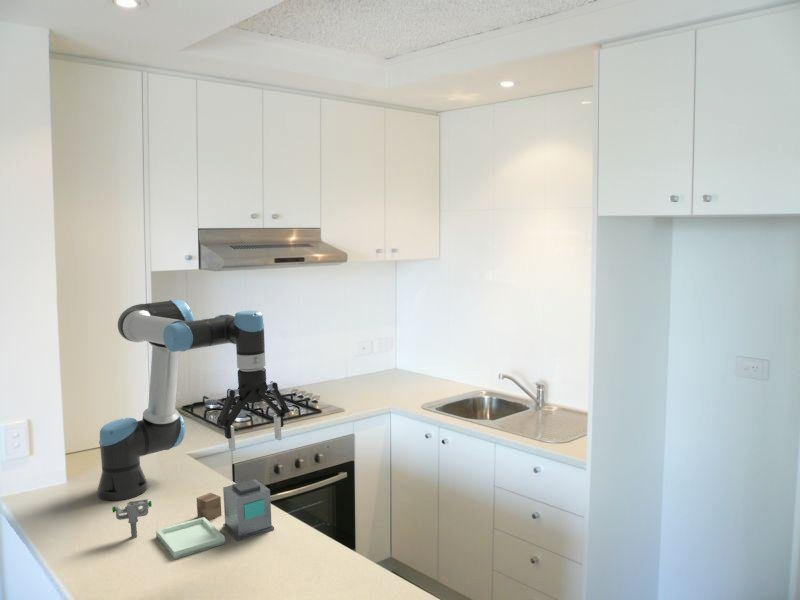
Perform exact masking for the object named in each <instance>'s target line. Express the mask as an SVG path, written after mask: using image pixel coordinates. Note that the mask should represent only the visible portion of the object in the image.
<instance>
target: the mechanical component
mask: <svg viewBox="0 0 800 600" xmlns="http://www.w3.org/2000/svg"><path fill="white" fill-rule="evenodd" d="M140 507H142V508H140ZM150 507H152V500H149V499H148V498H146V499H138V500H132V501H129V502H126V506H125V507H124V508H120V507H119V505H118V504H116V505H115V506H112V513H115V518H116V519H117V521H121V520H127V519H128V521H127V522H128V524H129V525H130V534H131V539H135V538H138V529H137V523H138V522H139V519H138V518H140V517H146V516H147V515H148V513H149V508H150Z"/></svg>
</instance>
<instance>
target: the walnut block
mask: <svg viewBox="0 0 800 600" xmlns="http://www.w3.org/2000/svg"><path fill="white" fill-rule="evenodd" d="M196 510H197V511H196V512H197V518H202V517H205V518H206V519H207V520H208V521H209V522H210V521H211V520H214V519H217V518H218V517H221V516H222V500H221V496H220V495H217V494H215V493H213V492H208V493H205V494H203V495H200V496H198V497H196Z"/></svg>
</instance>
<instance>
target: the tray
mask: <svg viewBox="0 0 800 600" xmlns="http://www.w3.org/2000/svg"><path fill="white" fill-rule="evenodd" d="M155 534H156V536H155V537H156V538H157V539H158V541H159V542H160V543H161V544H162V546H163V547H164V548H165V549H166V550H167V552H168V553H169V554H170V555H171V557H172V558H173V559H174V560H176V559H179V558H183V557H186V556H189V555H192V554H193V555H194V554H196V553H199V552H203V551H206V550H209V549H213V548H216V547H219V546H222V545H225V544H226V537H225V535H224V534H223V533H221V532H220V530H219V529H217V528H216V527H215V525H213V524H212V523H211V521H210V520H209V521H208V520H207V519H206V518H205V517H202V518H199V517H197V518H196V519H192V520H188V521H183V522H181V523H178V524H174V525H170V526H166V527H163V528H159V529H156V530H155Z"/></svg>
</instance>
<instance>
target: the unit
mask: <svg viewBox="0 0 800 600" xmlns="http://www.w3.org/2000/svg"><path fill="white" fill-rule="evenodd" d="M222 491H223V492H222V493H223V509H224V511H223V512H224V523H223V524H222V527H223V528H224V529H225V530H226V531H227V532H228V533H229V534H230V535H231V536H232V537H233V538H235V540H237V541H238V542H239V541H241V540H245V539H249V538H251V537H255V536H258V535H262V534H265V533H269V532H271V531H274V530H275V527H274V525H272V506H271V504H272V503H271V490H270V488H268V487H267V486H265V485H264V484H263V483H261V482H260V481H258V480H257V479H249V480H245V481H241V482H237V483H234V484H233V483H232V484H231V485H227V486H224V487H223V488H222Z"/></svg>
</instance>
